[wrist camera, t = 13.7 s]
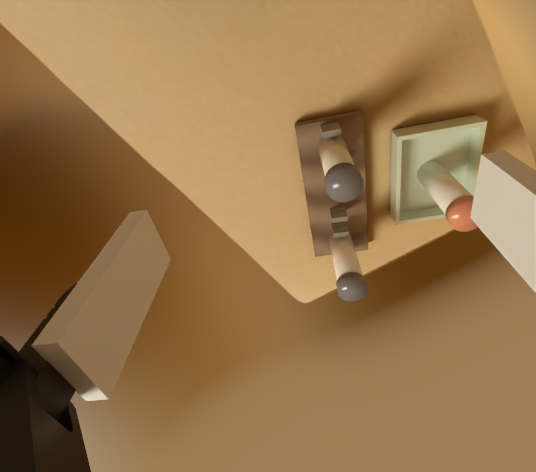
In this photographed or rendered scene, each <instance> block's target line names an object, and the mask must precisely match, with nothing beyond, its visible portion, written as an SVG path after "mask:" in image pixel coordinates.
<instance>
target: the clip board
mask: <svg viewBox="0 0 536 472" xmlns="http://www.w3.org/2000/svg"><path fill="white" fill-rule="evenodd" d="M295 129H296V135H297V141H298V148H299V154H300V161H301V167H302V174H303V180H304V187H305V193H306V199H307V206H308V212H309V219H310V225H311V232H312V238H313V245H314V251H315V257H316V256H324V255H332V251H331V246H330V241H329V235H330V233H331V232H333V237H334V238H337V237H344V236H349V232H350V234H351V237H352V241H353V244H354V248H355V251H362V250H368V234H367V207H366V179H365V152H364V124H363V112H362V111H361V110H359V111H354V112H349V113H343V114H338V115H333V116H328V117H323V118H318V119H313V120H307V121H302V122H297V123H295ZM339 135H341V136H342V138H343V140H344V142H345V144H346V146H347V149H348V151H349V153H350V155H351V158H352V160H353V162H354V164H355V166H356V167H357V168H358V169H359V171H360V173H361V176H362V178H363V181H364V186H363V190H362V192H361V193H360V194H359V196H357V197H356V198H355V199H353V200H351V201H348V202H338V201H335V200H333V199H332V198H330V197H329V195H328V194H327V191H326V187H325V174H324V170H323V166H322V162H321V158H320V154H319V149H318V142H319V140H320V138H321V137H323V138H328V137H333V136H339Z"/></svg>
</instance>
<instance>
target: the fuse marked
mask: <svg viewBox="0 0 536 472" xmlns="http://www.w3.org/2000/svg"><path fill="white" fill-rule="evenodd" d="M417 178H418V180H419V181H420V182H421V184H422V185H423V186H424V188H425V189H426V190H427V191H428V193H429V194H430V195H431V197H432V198H433V199H434V201H435V202H436V203H437V204H438V206H439V207H440V208H441V210H442V211H443V212H444V213H445V216H446V219H447V220H448V222H449V223H450V224H451V226H452V227H453V228H454V229H455V230H457V231H462V232H466V231H471V230H473V229H476V228H478V226H477V225H476V224H475V223H474V222H473V220H472V219H471V218H470V216H471V210H472V204H473V199H474V196H472V195H471V194H470V193H469V192H468V191H467V190H466V189H465V188H464V187H463V186H462V185H461V184H460V183H459V182H458V181H457V180H456V179H455V178H454V177H453V176H452V175H451V174H450V173H449V172H448V171H447V170H446V169H445V168H444V167H443V166H442V165H441V164H440V163H439V162H438V161H428V162H425V163H424V164H422V165H421V166H420V167H419V169H418V171H417Z"/></svg>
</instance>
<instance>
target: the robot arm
mask: <svg viewBox="0 0 536 472" xmlns="http://www.w3.org/2000/svg"><path fill="white" fill-rule="evenodd" d="M470 218H471V219H472V220H473V222H474V223H475V224H476V225H477V226H478V227H479V228H480V230H481V231H482V232H483V233H484V234H485V235H486V236H487V237H488V239H489V240H490V241H491V242H492V243H493V244H494V246H495V247H496V248H497V249H498V250H499V251H500V252H501V253H502V255H503V256H504V257H505V258H506V259H507V260H508V262H509V263H510V264H511V265H512V266H513V267H514V268H515V269H516V271H517V272H518V273H519V274H520V275H521V276H522V278H523V279H524V280H525V281H526V282H527V283H528V284H529V286H530V287H531V288H532V289H533V290H534V291H535V292H536V171H535V170H533V169H532V168H530V167H529V166H527V165H526V164H524V163H523V162H521V161H520V160H518V159H517V158H515V157H514V156H512V155H511V154H509V153H508V152H506V151H505V150H503V151H497V152H491V153H485V154H481V159H480V165H479V170H478V176H477V182H476V187H475V193H474V199H473V204H472V210H471V216H470ZM169 262H170V258H169V255H168V253H167V251H166V249H165V247H164V245H163V243H162V241H161V239H160V237H159V235H158V232H157V230H156V228H155V226H154V224H153V222H152V220H151V218H150V216H149V214H148V212H147V210H142V211H136V212H130V213H129V215H128V216H127V217H126V219H125V220H124V221H123V223H122V224H121V225H120V227H119V228H118V229H117V231H116V232H115V233H114V235H113V236H112V237H111V239H110V240H109V242H108V243H107V244H106V245H105V247H104V248H103V250H102V251H101V252H100V254H99V255H98V256H97V258H96V259H95V260H94V262H93V263H92V265H91V266H90V267H89V268H88V270H87V271H86V272H85V274H84V275H83V276H82V278H81V279H80V281H79V282H78V283H76V284H74V285H73V286H72V287H71V288H70V289H69V290H67V291H66V292H65V293H64V294H63V295H62V296H61V298H60V299H59V300H58V301H57V303H56V304H55V305H54V309H51V311H50V312H49V313H48V314H47V316H46V319H44V320H43V321H42V322H41V324H40V325H39V326H38V328H37V329H36V330H35V331H34V333H33V334H32V335H31V337H30V338H29V339H28V341H27V342H26V343H25V345H24V346H23V347H22V349H21V350H20V351H19V352H18V351H17V350H16V349H15V348H14V347H13V346H12V345H11V344H10V343H8V342H7V341H6V340H5V339H4V338H3V337H2V336H0V472H91V470H90V466H89V462H88V458H87V454H86V449H85V445H84V441H83V437H82V433H81V429H80V425H79V421H78V417H77V412H76V409H75V407H74V406H73V404H72V403H71V402H70V400H71V398H72V396H73V394H74V392H75V391H77V392H78V393H79V394H80V395H81V396H82V397H83V398H84V399H85V400H86V401H92V400H105V399H109V397H110V395H111V393H112V390H113V388H114V386H115V384H116V381H117V379H118V377H119V375H120V372H121V370H122V368H123V366H124V363H125V361H126V359H127V357H128V354H129V352H130V350H131V348H132V345H133V343H134V341H135V339H136V336H137V334H138V332H139V330H140V327H141V325H142V323H143V321H144V318H145V316H146V314H147V312H148V309H149V307H150V305H151V302H152V300H153V298H154V296H155V294H156V291H157V289H158V287H159V285H160V282H161V280H162V278H163V276H164V273H165V271H166V269H167V267H168V264H169Z"/></svg>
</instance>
